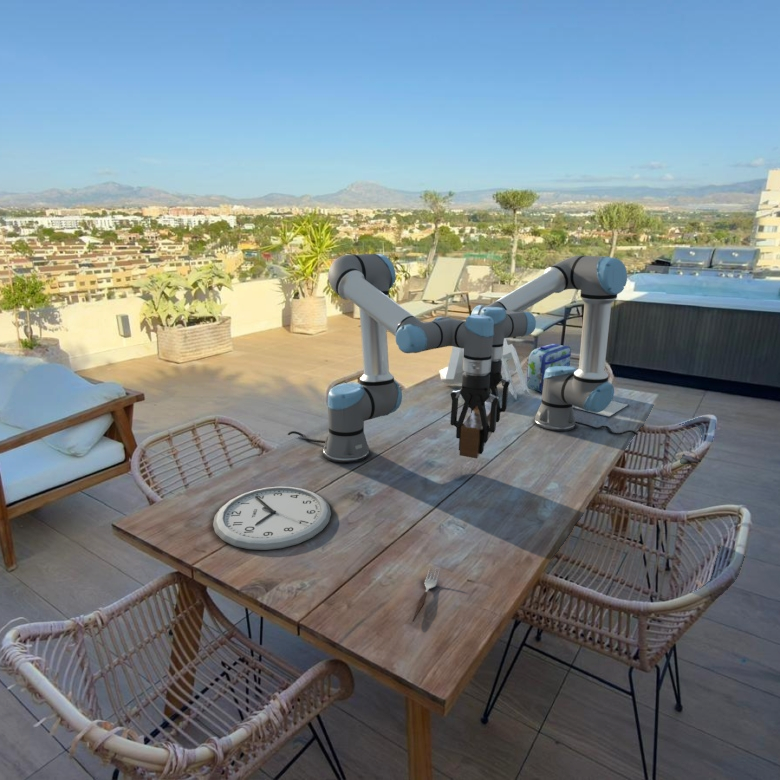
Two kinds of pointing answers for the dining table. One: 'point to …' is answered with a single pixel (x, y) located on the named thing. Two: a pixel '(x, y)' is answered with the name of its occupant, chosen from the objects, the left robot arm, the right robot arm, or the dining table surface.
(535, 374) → the lunch box
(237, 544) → the wall clock
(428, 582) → the fork
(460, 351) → the white plastic object
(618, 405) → the invitation card
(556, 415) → the right robot arm
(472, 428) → the bar
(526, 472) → the dining table surface
